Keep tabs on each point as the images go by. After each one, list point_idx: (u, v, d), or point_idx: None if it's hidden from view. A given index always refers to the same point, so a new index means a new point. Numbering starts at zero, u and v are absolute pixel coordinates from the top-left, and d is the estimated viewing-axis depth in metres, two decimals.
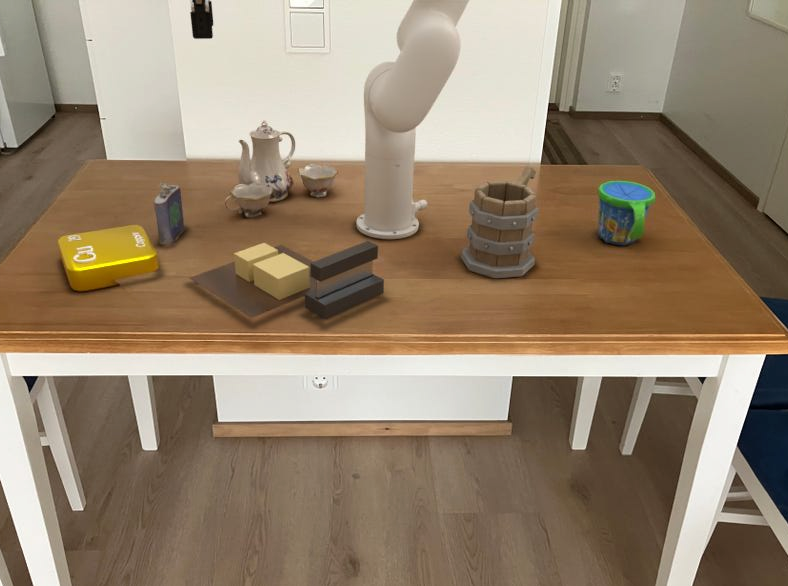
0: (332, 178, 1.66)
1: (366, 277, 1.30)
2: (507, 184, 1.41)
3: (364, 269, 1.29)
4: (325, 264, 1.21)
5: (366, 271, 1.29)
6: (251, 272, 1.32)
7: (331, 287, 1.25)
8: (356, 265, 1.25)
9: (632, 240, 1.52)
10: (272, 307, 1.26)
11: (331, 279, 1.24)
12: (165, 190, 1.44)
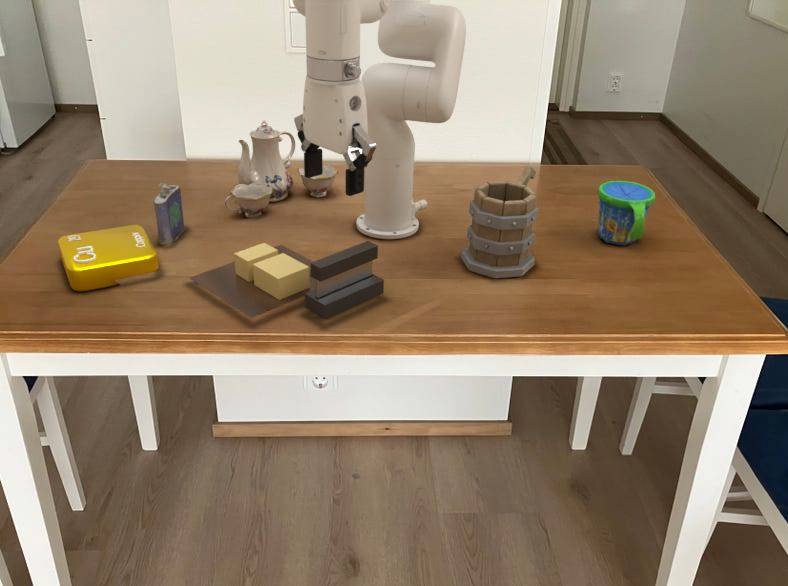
0: (332, 178, 1.66)
1: (366, 277, 1.30)
2: (507, 184, 1.41)
3: (364, 269, 1.29)
4: (325, 264, 1.21)
5: (366, 271, 1.29)
6: (251, 272, 1.32)
7: (331, 287, 1.25)
8: (356, 265, 1.25)
9: (632, 240, 1.52)
10: (272, 307, 1.26)
11: (331, 279, 1.24)
12: (165, 190, 1.44)
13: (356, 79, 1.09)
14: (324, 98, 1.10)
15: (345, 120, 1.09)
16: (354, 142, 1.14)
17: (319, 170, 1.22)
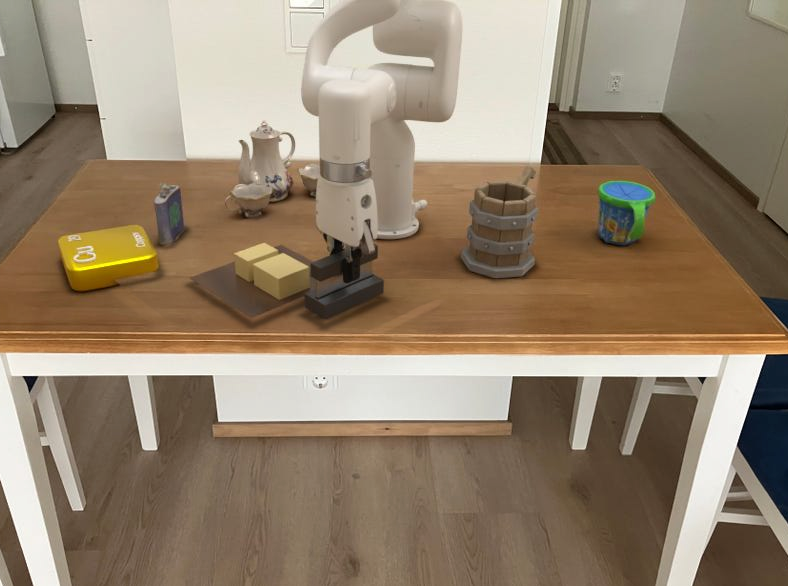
0: None
1: (366, 277, 1.30)
2: (507, 184, 1.41)
3: (364, 269, 1.29)
4: (326, 264, 1.21)
5: (366, 271, 1.29)
6: (251, 272, 1.32)
7: (331, 287, 1.25)
8: None
9: (632, 240, 1.52)
10: (272, 307, 1.26)
11: (331, 279, 1.24)
12: (165, 190, 1.44)
13: (367, 178, 1.15)
14: (336, 196, 1.16)
15: (357, 217, 1.16)
16: None
17: None
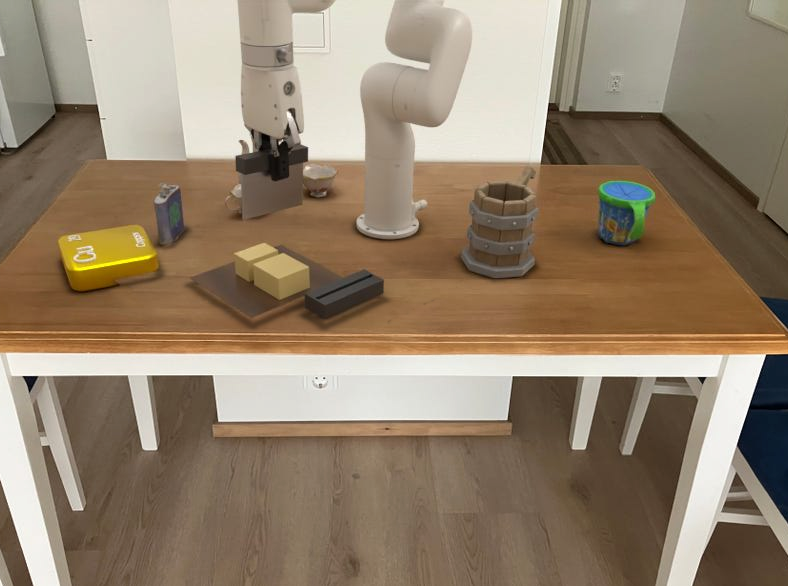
0: (332, 178, 1.66)
1: (296, 182, 1.26)
2: (507, 184, 1.41)
3: (294, 173, 1.25)
4: (251, 157, 1.17)
5: (296, 175, 1.26)
6: (251, 272, 1.32)
7: (258, 185, 1.21)
8: None
9: (632, 240, 1.52)
10: (272, 307, 1.26)
11: (257, 176, 1.20)
12: (165, 190, 1.44)
13: (290, 65, 1.12)
14: (259, 84, 1.13)
15: (280, 105, 1.12)
16: None
17: None
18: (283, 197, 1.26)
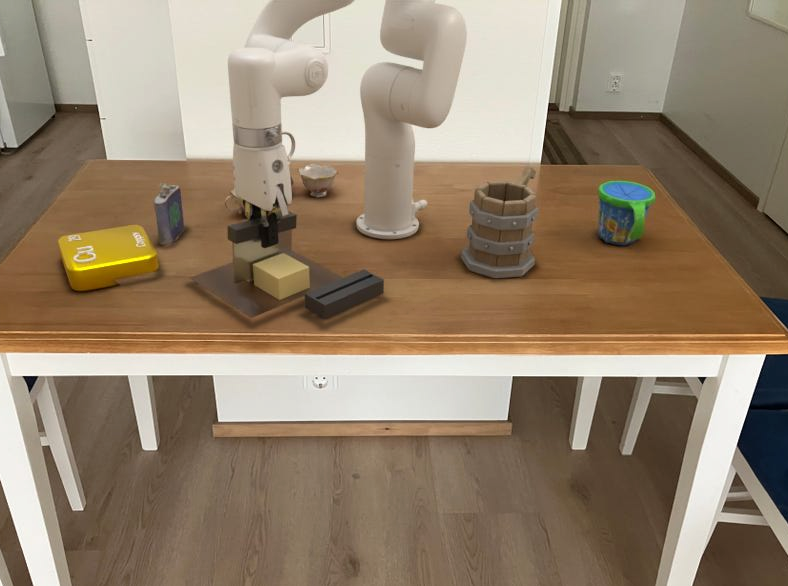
0: (332, 178, 1.66)
1: (285, 246, 1.34)
2: (507, 184, 1.41)
3: (283, 238, 1.33)
4: (242, 227, 1.25)
5: (285, 240, 1.33)
6: None
7: (248, 252, 1.29)
8: None
9: (632, 240, 1.52)
10: (272, 307, 1.26)
11: (248, 244, 1.28)
12: (165, 190, 1.44)
13: (278, 144, 1.20)
14: (249, 161, 1.20)
15: (269, 181, 1.20)
16: None
17: None
18: None
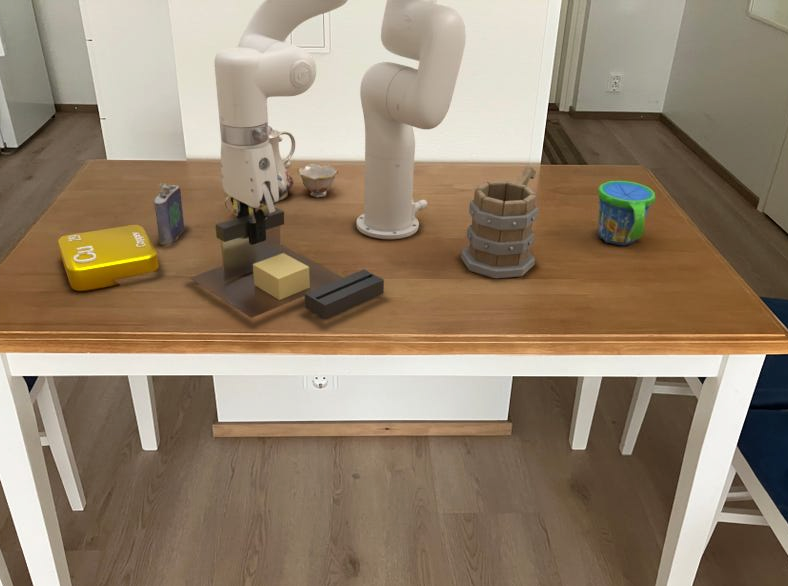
0: (332, 178, 1.66)
1: (274, 242, 1.36)
2: (507, 184, 1.41)
3: (272, 234, 1.35)
4: (230, 225, 1.27)
5: (273, 237, 1.36)
6: None
7: (237, 249, 1.31)
8: None
9: (632, 240, 1.52)
10: (272, 307, 1.26)
11: (237, 241, 1.30)
12: (165, 190, 1.44)
13: (265, 142, 1.22)
14: (236, 159, 1.23)
15: (255, 179, 1.22)
16: None
17: None
18: (262, 257, 1.36)
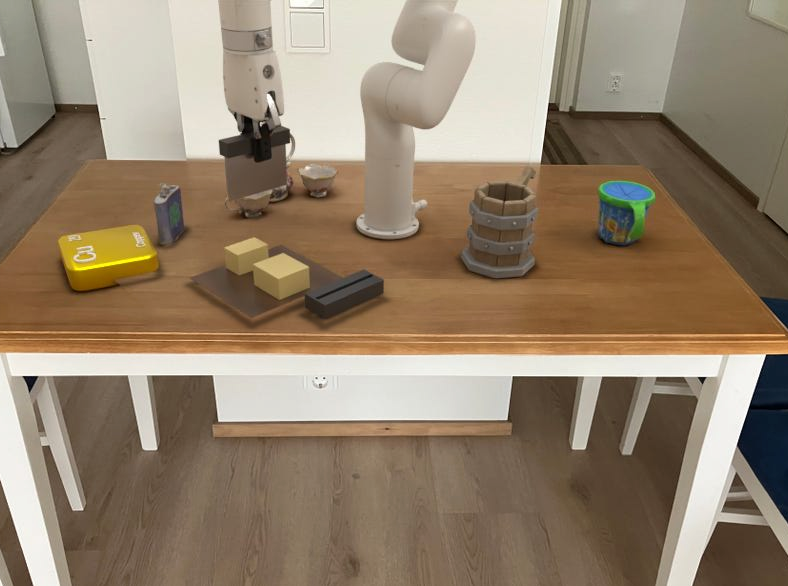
0: (332, 178, 1.66)
1: (280, 163, 1.31)
2: (507, 184, 1.41)
3: (277, 154, 1.30)
4: (233, 140, 1.22)
5: (279, 156, 1.30)
6: (241, 266, 1.34)
7: (241, 168, 1.26)
8: None
9: (632, 240, 1.52)
10: (272, 307, 1.26)
11: (241, 159, 1.25)
12: (165, 190, 1.44)
13: (269, 49, 1.16)
14: (239, 68, 1.17)
15: (259, 88, 1.16)
16: None
17: None
18: (267, 178, 1.30)
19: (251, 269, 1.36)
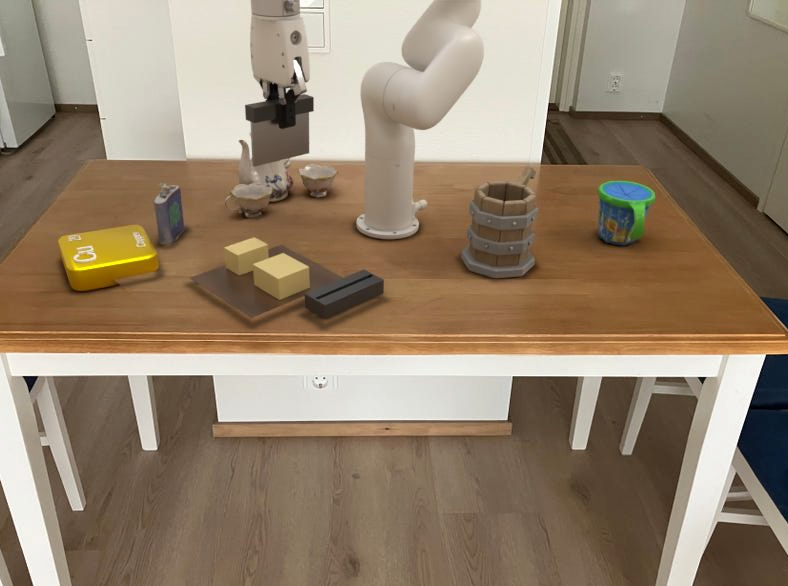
0: (332, 178, 1.66)
1: (303, 131, 1.34)
2: (507, 184, 1.41)
3: (301, 122, 1.33)
4: (260, 106, 1.25)
5: (302, 124, 1.33)
6: (241, 266, 1.34)
7: (266, 134, 1.28)
8: None
9: (632, 240, 1.52)
10: (272, 307, 1.26)
11: (266, 125, 1.28)
12: (165, 190, 1.44)
13: (296, 15, 1.19)
14: (267, 33, 1.20)
15: (287, 53, 1.19)
16: None
17: None
18: (291, 145, 1.33)
19: (251, 269, 1.36)
